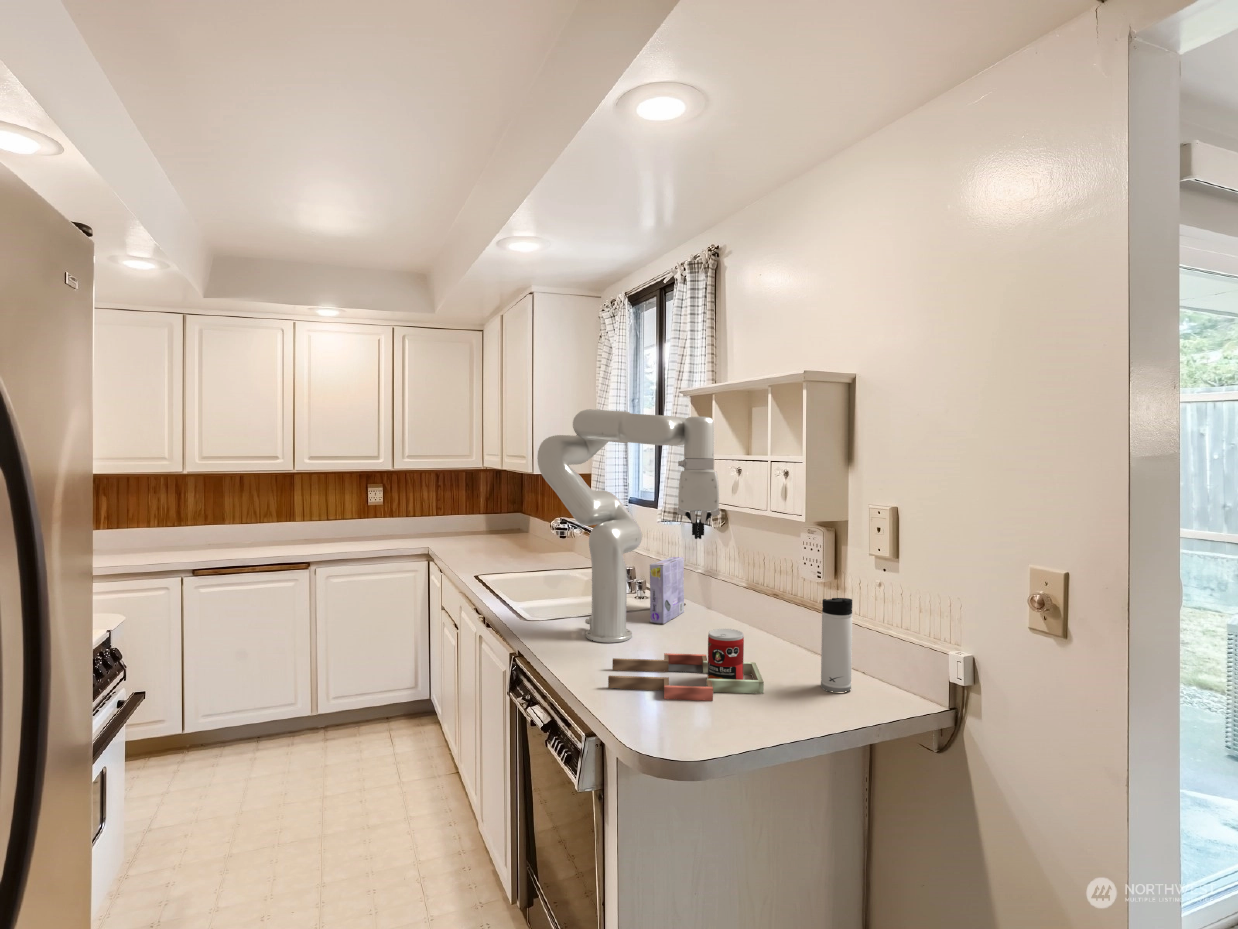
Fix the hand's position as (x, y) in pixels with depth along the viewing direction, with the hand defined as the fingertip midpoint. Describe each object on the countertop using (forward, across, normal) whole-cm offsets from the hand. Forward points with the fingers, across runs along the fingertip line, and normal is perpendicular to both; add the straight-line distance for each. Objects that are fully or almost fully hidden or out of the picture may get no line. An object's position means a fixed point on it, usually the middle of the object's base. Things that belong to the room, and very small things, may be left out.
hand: (697, 538), depth 171 cm
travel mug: (+29, +29, -23) cm, 47 cm away
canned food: (+29, +5, -21) cm, 37 cm away
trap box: (+29, -4, -21) cm, 36 cm away
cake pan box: (+29, -7, +35) cm, 47 cm away
